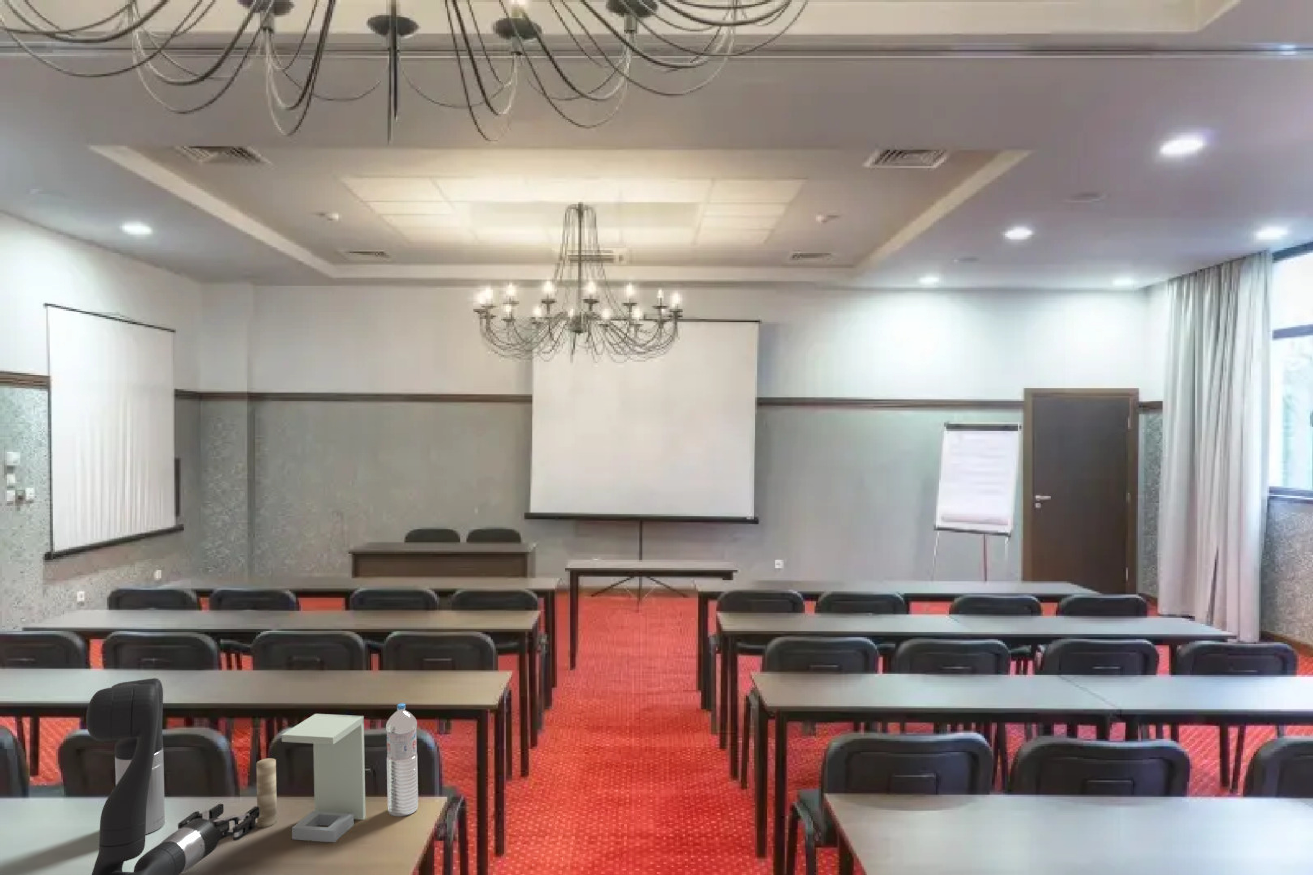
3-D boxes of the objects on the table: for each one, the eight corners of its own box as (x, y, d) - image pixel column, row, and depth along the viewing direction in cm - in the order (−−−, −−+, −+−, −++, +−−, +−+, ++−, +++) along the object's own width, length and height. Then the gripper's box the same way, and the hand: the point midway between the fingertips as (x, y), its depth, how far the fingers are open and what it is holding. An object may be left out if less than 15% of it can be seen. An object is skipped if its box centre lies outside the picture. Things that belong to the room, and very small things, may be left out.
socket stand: (283, 842, 183) (281, 734, 182) (317, 814, 195) (315, 713, 195) (335, 846, 181) (333, 737, 180) (365, 817, 194) (363, 716, 193)
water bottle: (409, 818, 193) (407, 710, 192) (382, 816, 194) (380, 708, 194) (423, 805, 200) (421, 700, 199) (396, 802, 201) (395, 698, 200)
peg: (253, 826, 190) (252, 765, 190) (264, 818, 194) (263, 757, 193) (269, 827, 189) (268, 766, 189) (280, 819, 193) (279, 758, 193)
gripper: (218, 830, 165) (269, 794, 181) (153, 825, 167) (209, 790, 183) (219, 868, 165) (270, 828, 181) (154, 863, 167) (210, 824, 183)
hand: (239, 809), depth 182 cm, fingers open, 8 cm apart
